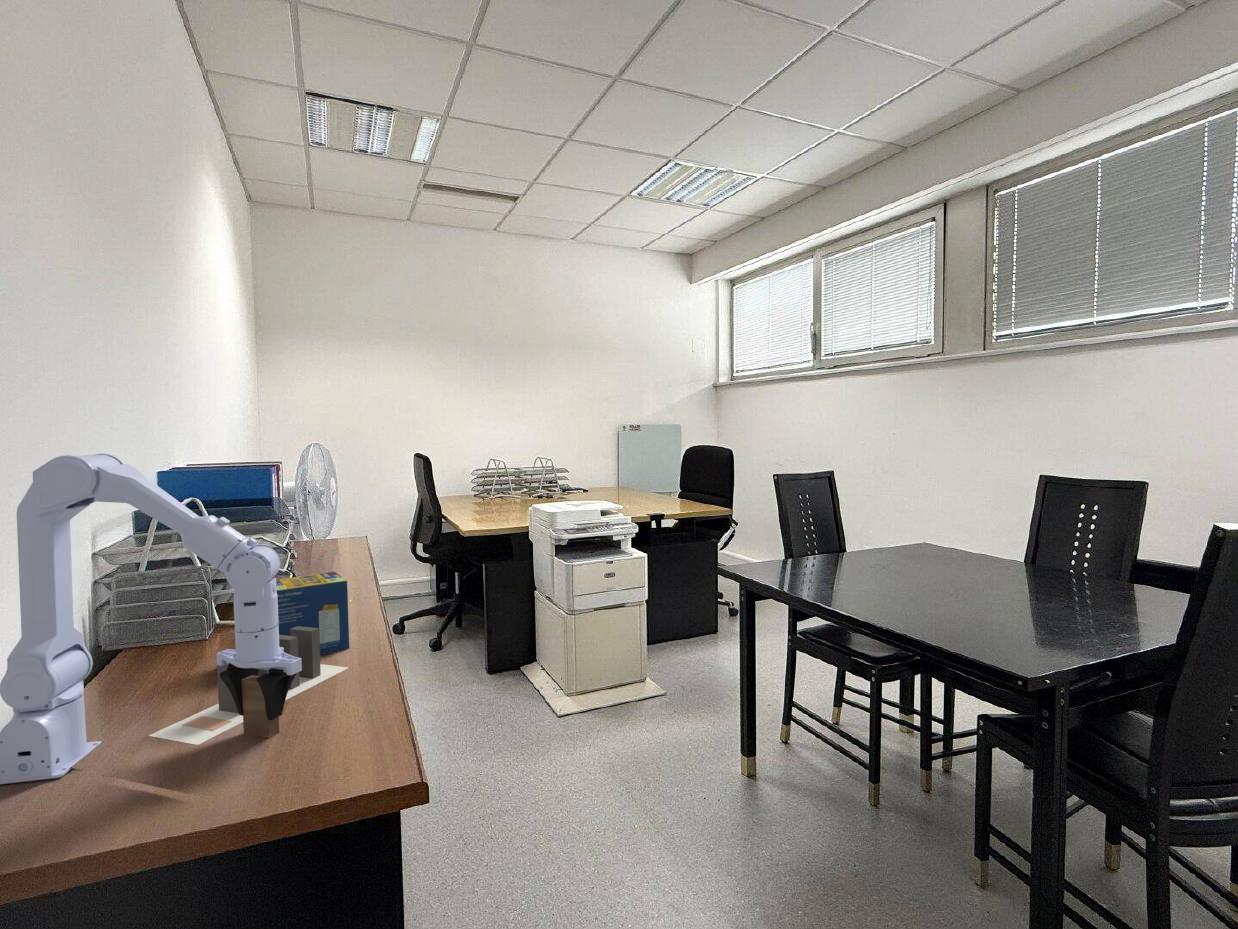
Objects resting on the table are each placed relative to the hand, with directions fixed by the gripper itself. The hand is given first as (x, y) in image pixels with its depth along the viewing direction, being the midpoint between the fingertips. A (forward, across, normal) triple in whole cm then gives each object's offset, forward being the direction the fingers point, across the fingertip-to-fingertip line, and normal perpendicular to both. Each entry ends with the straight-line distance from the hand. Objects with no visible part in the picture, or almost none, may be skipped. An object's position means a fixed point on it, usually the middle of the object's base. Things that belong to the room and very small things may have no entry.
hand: (260, 715), depth 94 cm
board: (+3, +11, -10) cm, 15 cm away
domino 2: (+3, 0, 0) cm, 3 cm away
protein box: (+4, +22, -31) cm, 38 cm away
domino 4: (+3, +11, -20) cm, 23 cm away
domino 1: (+3, +11, -5) cm, 12 cm away
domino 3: (+3, +11, -15) cm, 19 cm away
